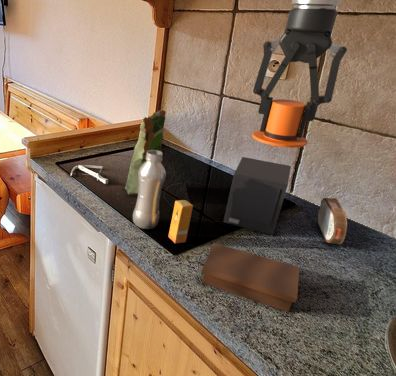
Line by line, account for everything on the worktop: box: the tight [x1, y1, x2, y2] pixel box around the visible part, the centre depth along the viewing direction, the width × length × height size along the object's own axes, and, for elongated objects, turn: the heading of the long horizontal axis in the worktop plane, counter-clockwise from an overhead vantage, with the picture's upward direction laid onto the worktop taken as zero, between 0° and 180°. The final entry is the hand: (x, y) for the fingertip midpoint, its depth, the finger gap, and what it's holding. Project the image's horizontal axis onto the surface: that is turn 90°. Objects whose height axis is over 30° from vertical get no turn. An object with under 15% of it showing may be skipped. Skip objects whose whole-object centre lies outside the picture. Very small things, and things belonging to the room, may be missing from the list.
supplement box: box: [168, 199, 194, 244], centre depth 96 cm, size 3×3×10 cm
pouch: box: [124, 109, 167, 196], centre depth 116 cm, size 11×12×25 cm
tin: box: [317, 197, 348, 246], centre depth 100 cm, size 15×3×8 cm, turn 161°
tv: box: [223, 156, 292, 236], centre depth 106 cm, size 12×14×14 cm
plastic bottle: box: [132, 150, 167, 230], centre depth 99 cm, size 6×7×20 cm
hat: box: [251, 98, 308, 149], centre depth 81 cm, size 10×10×8 cm
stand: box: [201, 242, 300, 313], centre depth 83 cm, size 17×11×4 cm, turn 60°
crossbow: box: [70, 164, 109, 185], centre depth 132 cm, size 16×13×2 cm
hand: (280, 132), depth 82 cm, fingers closed on hat, 6 cm apart
